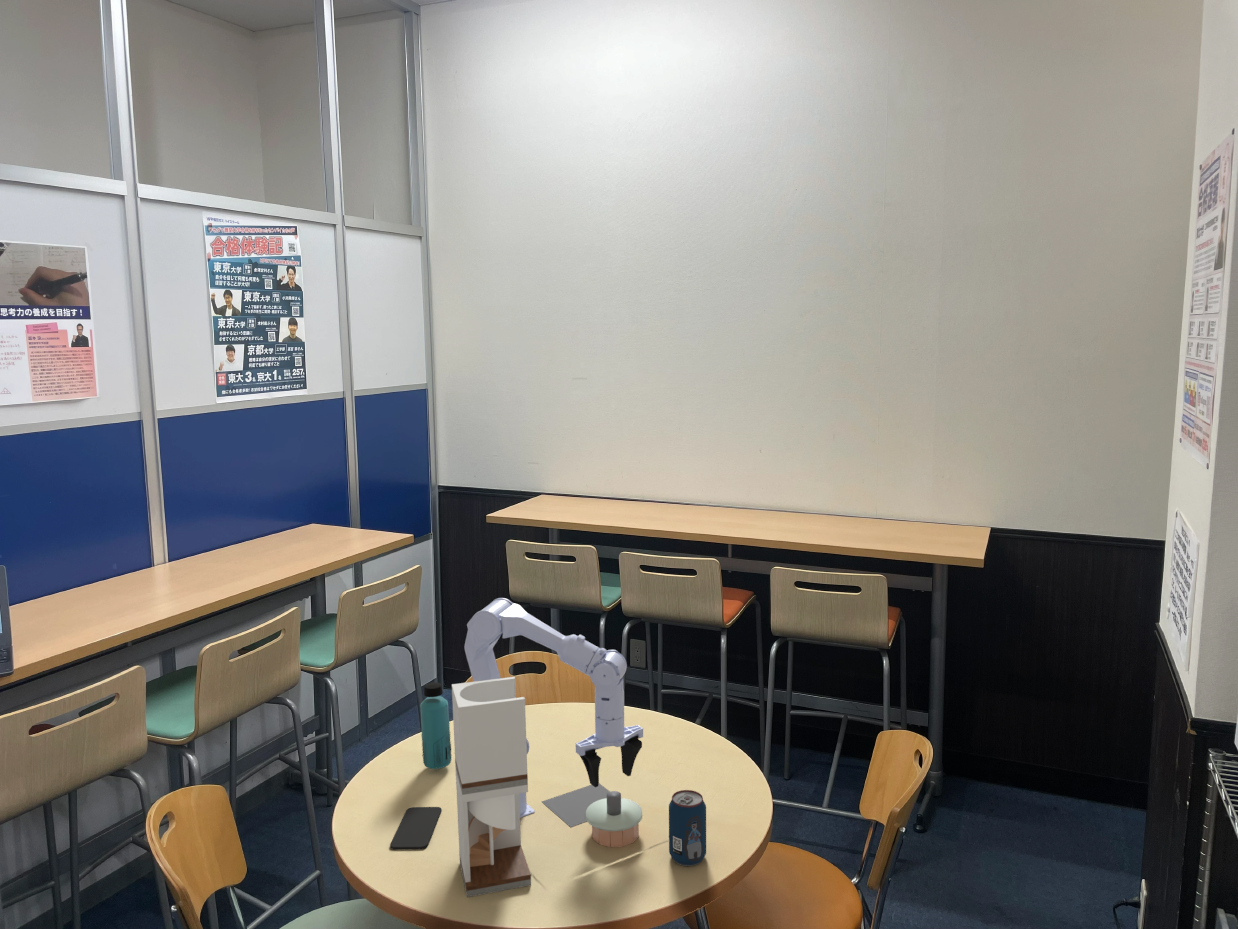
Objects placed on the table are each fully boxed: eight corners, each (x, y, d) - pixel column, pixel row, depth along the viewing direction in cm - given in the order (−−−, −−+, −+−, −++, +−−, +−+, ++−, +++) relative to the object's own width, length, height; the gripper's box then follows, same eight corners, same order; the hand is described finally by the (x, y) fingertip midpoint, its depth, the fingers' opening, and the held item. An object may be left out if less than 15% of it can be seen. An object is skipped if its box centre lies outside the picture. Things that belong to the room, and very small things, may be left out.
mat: (570, 829, 180) (570, 827, 180) (541, 803, 190) (541, 801, 190) (629, 807, 188) (629, 806, 188) (598, 784, 198) (598, 782, 198)
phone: (443, 806, 189) (426, 847, 174) (443, 810, 189) (427, 851, 174) (407, 807, 189) (388, 847, 174) (407, 810, 189) (388, 851, 174)
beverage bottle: (449, 775, 202) (445, 690, 199) (419, 775, 203) (415, 690, 200) (455, 761, 209) (451, 679, 206) (426, 762, 209) (422, 679, 206)
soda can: (683, 843, 175) (682, 784, 173) (713, 855, 170) (713, 795, 168) (661, 859, 169) (661, 799, 168) (692, 873, 165) (692, 811, 163)
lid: (605, 837, 170) (604, 815, 169) (575, 811, 179) (575, 791, 178) (653, 819, 176) (653, 798, 175) (622, 795, 185) (622, 775, 184)
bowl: (608, 853, 171) (608, 834, 171) (583, 832, 179) (583, 813, 178) (647, 838, 176) (647, 819, 176) (621, 818, 184) (621, 799, 183)
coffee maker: (466, 897, 159) (458, 707, 154) (459, 863, 169) (451, 684, 164) (531, 885, 162) (524, 698, 157) (520, 852, 172) (514, 676, 167)
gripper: (588, 731, 170) (589, 798, 172) (651, 712, 178) (652, 777, 180) (569, 717, 176) (571, 783, 178) (631, 700, 184) (632, 763, 186)
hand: (610, 779), depth 180 cm, fingers open, 7 cm apart
